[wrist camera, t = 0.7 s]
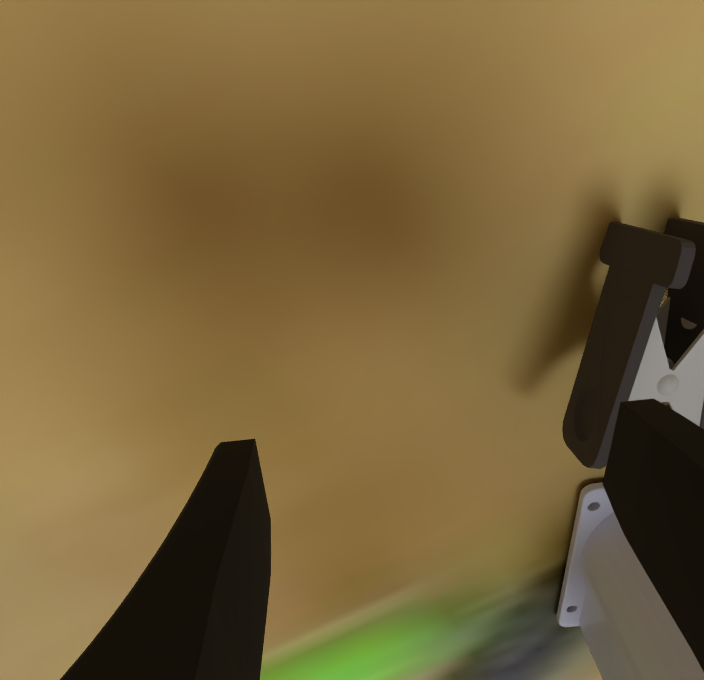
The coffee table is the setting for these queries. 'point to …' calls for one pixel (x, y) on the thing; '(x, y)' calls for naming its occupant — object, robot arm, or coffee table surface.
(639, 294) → the clip-on lamp
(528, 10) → the coffee table surface
